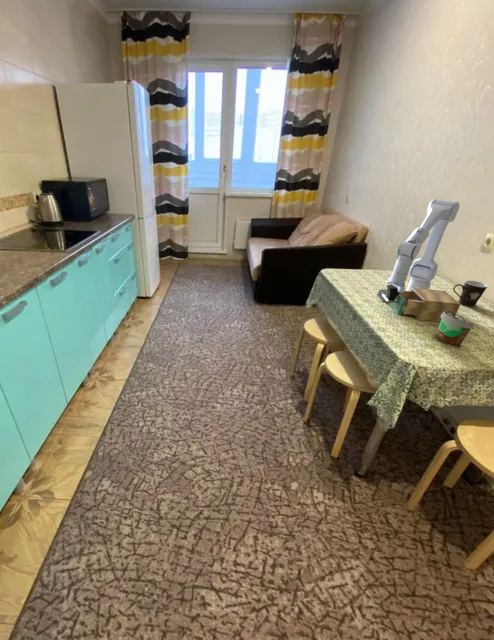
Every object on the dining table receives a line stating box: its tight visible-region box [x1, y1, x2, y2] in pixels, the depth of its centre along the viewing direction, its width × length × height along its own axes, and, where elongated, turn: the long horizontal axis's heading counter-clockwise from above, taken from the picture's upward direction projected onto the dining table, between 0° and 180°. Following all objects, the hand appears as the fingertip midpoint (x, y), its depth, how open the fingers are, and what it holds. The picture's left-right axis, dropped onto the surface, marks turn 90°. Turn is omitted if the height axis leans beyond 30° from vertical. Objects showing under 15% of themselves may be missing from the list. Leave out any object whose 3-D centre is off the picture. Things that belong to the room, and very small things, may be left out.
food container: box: [435, 309, 475, 347], centre depth 121 cm, size 12×6×10 cm, turn 5°
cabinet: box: [411, 288, 462, 323], centre depth 141 cm, size 14×15×9 cm
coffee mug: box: [452, 280, 489, 308], centre depth 154 cm, size 12×9×10 cm
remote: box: [377, 288, 388, 303], centre depth 156 cm, size 4×10×3 cm, turn 170°
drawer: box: [382, 290, 424, 316], centre depth 143 cm, size 17×13×7 cm
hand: (389, 302), depth 144 cm, fingers closed, pressing on drawer
